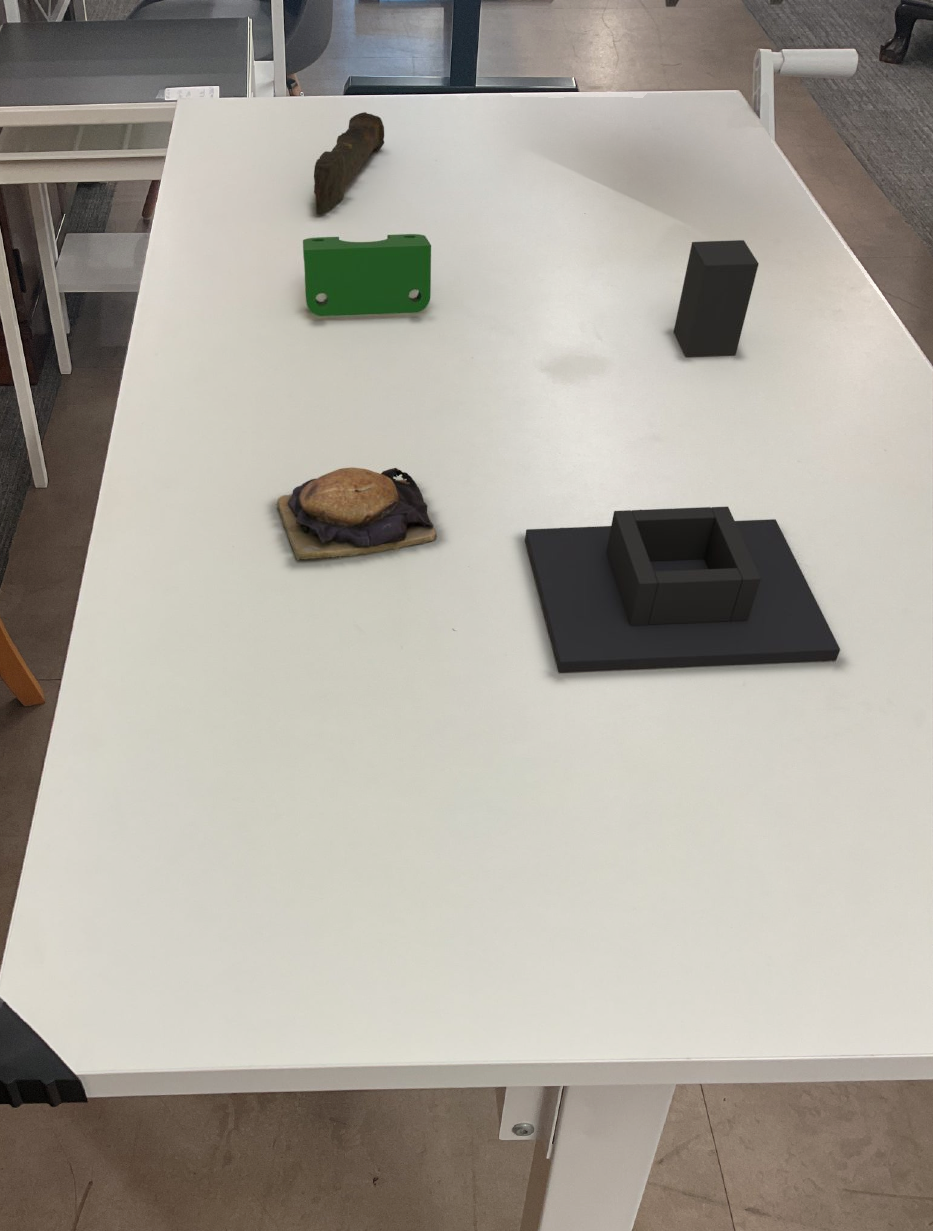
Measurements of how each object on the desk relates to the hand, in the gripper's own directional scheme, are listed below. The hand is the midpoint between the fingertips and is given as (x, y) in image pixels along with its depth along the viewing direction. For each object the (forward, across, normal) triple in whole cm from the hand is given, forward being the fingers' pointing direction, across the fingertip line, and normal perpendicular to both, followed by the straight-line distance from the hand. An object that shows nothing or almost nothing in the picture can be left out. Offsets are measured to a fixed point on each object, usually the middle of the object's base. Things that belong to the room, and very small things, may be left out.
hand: (727, 0), depth 94 cm
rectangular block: (+24, 0, +8) cm, 26 cm away
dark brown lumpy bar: (-2, -28, +35) cm, 45 cm away
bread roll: (+41, -32, -9) cm, 53 cm away
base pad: (+48, -11, -16) cm, 52 cm away
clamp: (+17, -29, +16) cm, 37 cm away
